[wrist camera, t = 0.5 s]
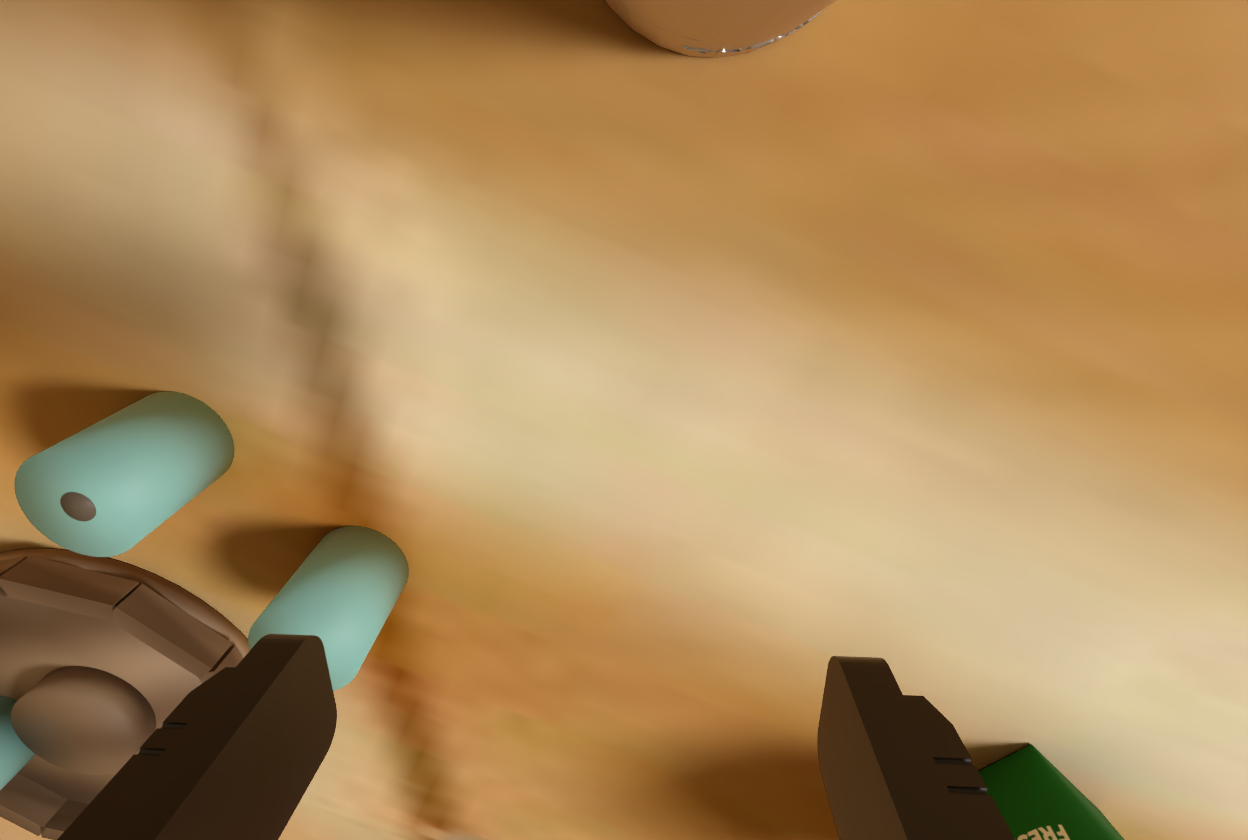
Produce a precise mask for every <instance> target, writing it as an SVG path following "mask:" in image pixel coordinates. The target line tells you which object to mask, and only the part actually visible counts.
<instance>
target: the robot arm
mask: <svg viewBox="0 0 1248 840" xmlns="http://www.w3.org/2000/svg"><path fill="white" fill-rule="evenodd" d="M605 1H606V2H607V4H608V5H609V7H610V8H611V9H612V10H613V11H614V12H615V13H616V14H617V15H618V16H619V17H620V18H621V19H622V20H623V21H624V22H625V23H626V24H627V25H628V26H629V27H630V28H631V29H632V30H634V31H635V32H637V33H639V34H640V35H642V36H643V37H645V38H647V39H648V40H650V41H651V42H653V43H655V44H656V45H658V46H660V47H663V48H666V49H669V50H672V51H675V52H678V53H681V54H684V55H687V56H698V57H711V58H720V57H726V56H733V55H739V54H745V53H749V52H751V51H754V50H756V49H759V48H761V47H763V46H766V45H768V44H771V43H773V42H776V41H778V40H779V39H781V38H783V37H785V36H787V35H789V34H791V33H792V32H794V31H795V30H797V29H798V28H800V27H802V26H803V25H805V24H806V23H808V22H809V21H810V20H812V19H813V18H814V17H815V16H817V15H818V14H819V13H820V12H822V11H823V10H824V9H826V8H827V7H828V6H829V5H831V4H832V3H833V2H835V1H836V0H605ZM336 720H337V710H336V703H335V699H334V694H333V689H332V684H331V679H330V674H329V669H328V664H327V659H326V654H325V649H324V645H323V642H322V640H321V639H320V638H319V637H318V636H315V635H290V634H267V635H265V636H263V637H262V638H261V639H260V640H259V641H258V642H257V643H256V644H255V645H254V646H253V647H252V649H251V650H250V651H249V652H248V653H247V654H246V656H245V657H244V658H243V659H242V660H241V662H240V663H239V664H238V665H237V666H236V667H225V668H224V669H222V670H221V671H219V672H218V673H217V674H215V675H214V676H212V677H211V678H209V679H208V680H206V681H205V682H204V683H202V684H201V685H199V686H198V687H196V688H195V689H193V690H192V691H191V692H189V694H188V695H187V696H186V697H185V698H184V699H183V700H182V701H181V702H180V704H179V705H178V706H177V707H176V708H175V709H174V710H173V711H172V712H171V714H170V715H169V716H168V717H167V718H166V719H165V720H164V721H163V725H162V727H161V728H157V729H156V730H155V731H154V732H153V734H152V735H151V736H150V737H149V738H148V739H147V740H146V741H145V742H144V744H143V745H142V746H141V747H140V751H139V753H138V754H137V755H136V754H134V755H133V756H132V757H131V758H130V759H129V760H128V761H127V762H126V764H125V765H124V766H123V767H122V768H121V769H120V770H119V771H118V772H117V774H116V775H115V776H114V777H113V778H112V779H111V780H110V781H109V782H108V784H107V785H106V786H105V787H104V788H103V789H102V790H101V791H100V793H99V794H98V795H97V796H96V797H95V798H94V799H93V800H92V801H91V803H90V804H89V805H88V806H87V807H86V808H85V809H84V810H83V811H82V813H81V814H80V815H79V816H78V817H77V818H76V819H75V820H74V821H73V823H72V824H71V825H70V826H69V827H68V828H67V829H66V830H65V831H64V833H63V834H62V835H61V836H60V837H59V838H58V839H57V840H278V839H279V837H280V835H281V833H282V832H283V830H284V828H285V826H286V825H287V823H288V821H289V819H290V817H291V816H292V814H293V812H294V810H295V809H296V807H297V805H298V803H299V802H300V800H301V798H302V796H303V795H304V793H305V791H306V789H307V787H308V786H309V784H310V782H311V780H312V779H313V777H314V775H315V773H316V772H317V770H318V768H319V766H320V765H321V763H322V761H323V759H324V757H325V756H326V754H327V752H328V750H329V748H330V745H331V743H332V740H333V736H334V733H335V728H336ZM818 757H819V764H820V770H821V775H822V779H823V782H824V786H825V789H826V793H827V797H828V800H829V804H830V807H831V811H832V814H833V818H834V822H835V825H836V829H837V832H838V836H839V839H840V840H1015V838H1014V836H1013V834H1012V833H1011V831H1010V829H1009V827H1008V825H1007V823H1006V822H1005V820H1004V818H1003V816H1002V814H1001V812H1000V811H999V809H998V807H997V805H996V803H995V801H994V800H993V798H992V796H991V795H988V793H987V787H986V785H985V783H984V781H983V779H982V778H981V776H980V774H979V772H978V770H977V768H976V766H973V765H972V763H971V757H970V755H969V754H968V752H967V750H966V748H965V746H964V744H963V743H962V741H961V739H960V737H959V735H958V733H957V732H956V730H955V728H954V726H953V725H952V724H951V723H950V722H949V721H948V720H947V719H946V718H945V717H944V716H943V715H942V714H941V713H940V712H939V711H938V710H937V709H936V708H935V707H934V706H933V705H932V704H931V703H930V702H929V701H928V700H927V699H926V698H925V697H924V696H909V695H903V694H902V692H901V690H900V688H899V686H898V684H897V682H896V680H895V678H894V676H893V674H892V672H891V669H890V667H889V666H888V664H887V662H886V661H885V660H884V659H882V658H870V657H843V656H833V657H831V659H830V661H829V664H828V669H827V676H826V682H825V688H824V695H823V701H822V708H821V714H820V720H819V727H818Z"/></svg>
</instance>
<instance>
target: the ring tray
mask: <svg viewBox="0 0 1248 840" xmlns="http://www.w3.org/2000/svg"><path fill="white" fill-rule="evenodd" d="M249 651H250V648H249V642H248V639H247V638H246V637H245V636H244V635H243V633H242V632H241V631H239V630H238V629H237V628H236V627H235V626H234V625H233V624H232V623H231V622H229V621H228V620H227V619H226V618H225V617H224V616H223V615H221V614H220V613H219V612H217V611H216V610H215V609H213V608H212V607H211V606H209V605H208V604H207V603H205V602H204V601H202V600H201V599H199V598H198V597H196V596H194V595H193V594H191V593H189V592H188V591H186V590H185V589H183V588H181V587H180V586H178V585H176V584H174V583H172V582H170V581H168V580H166V579H164V578H162V577H160V576H158V575H156V574H153V573H151V572H148V571H146V570H143V569H141V568H138V567H135V566H133V565H130V564H128V563H124V562H121V561H117V560H114V559H111V558H107V557H93V556H87V555H83V554H79V553H76V552H73V551H71V550H62V549H51V548H40V549H20V550H12V551H5V552H0V695H3V696H7V697H10V698H13V699H15V700H17V702H16V703H15V704H14V706H13V708H12V711H11V722H12V726H13V728H14V730H15V732H16V734H17V736H18V737H19V738H20V740H21V741H22V742H23V743H24V744H25V745H26V746H27V747H28V748H29V749H30V750H31V751H32V752H34V753H35V754H36V755H35V756H34V757H33V758H32V759H31V760H30V761H29V762H28V763H27V764H26V765H25V766H24V767H23V768H22V769H21V770H20V771H19V772H18V773H17V774H16V775H15V776H14V777H13V778H12V779H11V780H10V781H9V782H8V783H7V784H6V785H5V786H4V787H3V788H2V789H1V790H0V817H2V818H4V819H6V820H8V821H10V822H12V823H14V824H16V825H18V826H20V827H22V828H24V829H26V830H28V831H30V832H32V833H34V834H35V835H37V836H39V835H40V834H41V835H42V837H43V838H48V839H53V840H57V839H58V838H59V837H60V836H61V835H62V834H63V833H64V831H65V830H66V829H67V828H68V827H69V826H70V825H71V824H72V823H73V821H74V820H75V819H76V818H77V817H78V816H79V815H80V814H81V813H82V811H83V810H84V809H85V808H86V807H87V806H88V805H89V804H90V803H91V801H92V800H93V799H94V798H95V797H96V796H97V795H98V794H99V793H100V791H101V790H102V789H103V788H104V787H105V786H106V785H107V784H108V782H109V781H110V780H111V779H112V778H113V777H114V776H115V775H116V774H117V772H118V771H119V770H120V769H121V768H122V767H123V766H124V765H125V764H126V762H127V761H128V760H129V759H130V758H131V757H132V756H133V755H134V754H136V755H137V754H138V753H139V751H140V747H141V746H142V745H143V744H144V742H145V741H146V740H147V739H148V738H149V737H150V736H151V735H152V734H153V732H154V731H155V730H156V729H157V728H161V727H162V725H163V721H164V720H165V719H166V718H167V717H168V716H169V715H170V714H171V712H172V711H173V710H174V709H175V708H176V707H177V706H178V705H179V704H180V702H181V701H182V700H183V699H184V698H185V697H186V696H187V695H188V694H189V692H191V691H192V690H193V689H195V688H196V687H198V686H199V685H201V684H202V683H204V682H205V681H206V680H208V679H209V678H211V677H212V676H214V675H215V674H217V673H218V672H219V671H221V670H222V669H224V668H225V667H236V666H237V665H238V664H239V663H240V662H241V660H242V659H243V658H244V657H245V656H246V654H247V653H248V652H249Z"/></svg>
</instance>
